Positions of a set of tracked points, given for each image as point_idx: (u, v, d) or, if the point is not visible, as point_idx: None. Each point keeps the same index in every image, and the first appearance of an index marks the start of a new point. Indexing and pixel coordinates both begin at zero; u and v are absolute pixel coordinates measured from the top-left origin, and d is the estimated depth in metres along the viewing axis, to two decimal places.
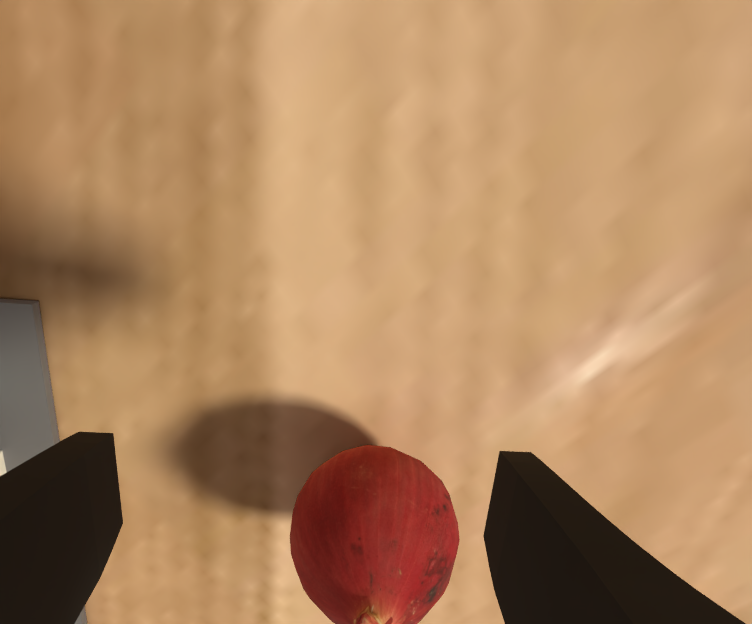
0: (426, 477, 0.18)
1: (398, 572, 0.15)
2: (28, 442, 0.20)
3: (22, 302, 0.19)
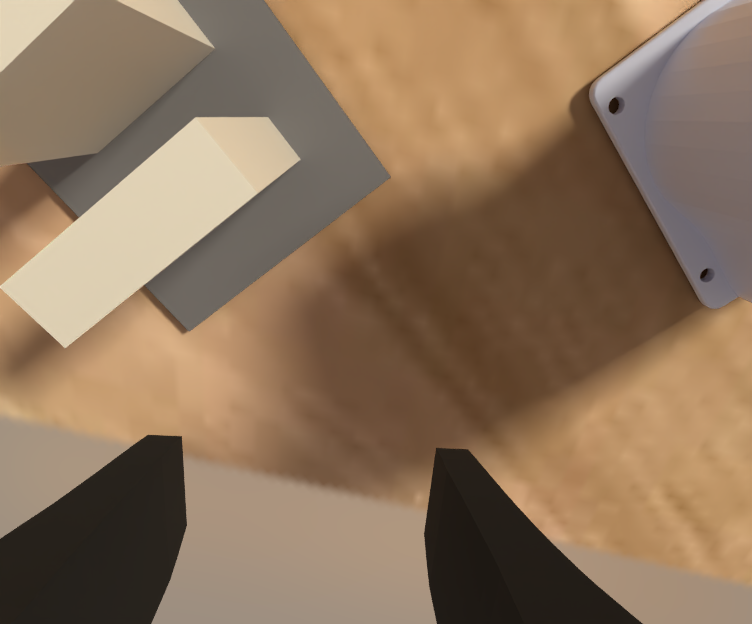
0: None
1: None
2: None
3: None
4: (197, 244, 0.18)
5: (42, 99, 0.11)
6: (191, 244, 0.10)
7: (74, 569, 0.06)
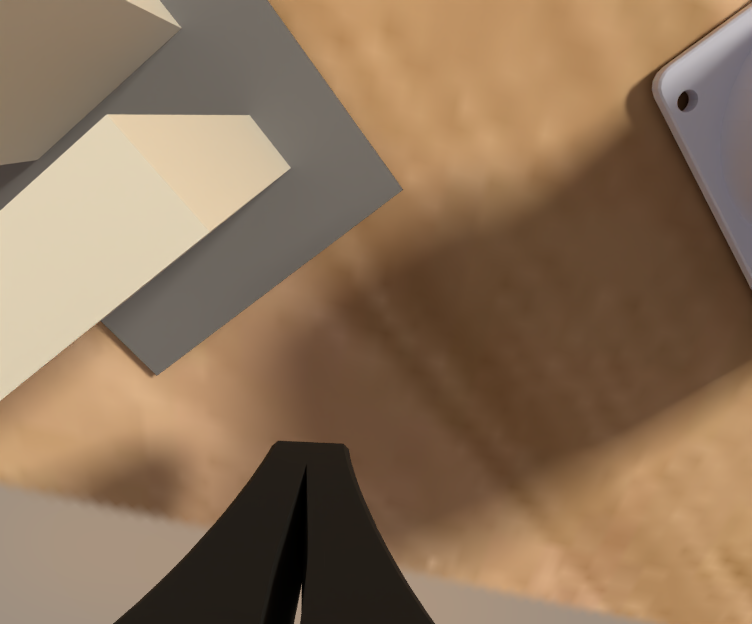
0: None
1: None
2: None
3: None
4: (164, 272, 0.14)
5: None
6: (110, 308, 0.06)
7: (274, 575, 0.06)
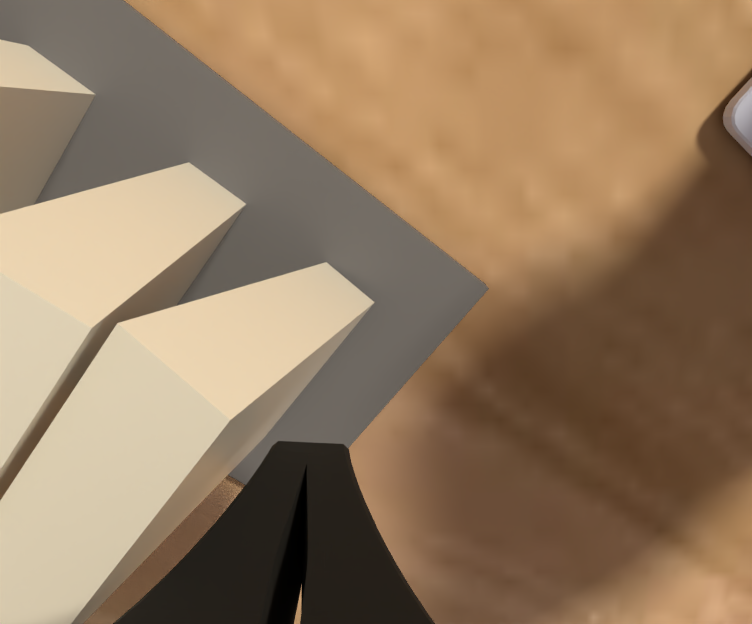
0: None
1: None
2: None
3: None
4: (278, 420, 0.15)
5: None
6: (151, 516, 0.06)
7: (274, 575, 0.06)
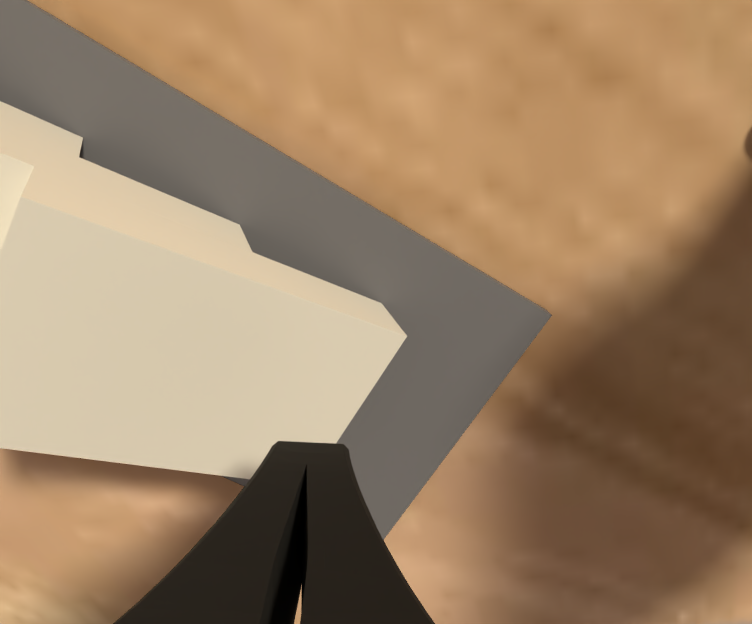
0: None
1: None
2: None
3: None
4: (359, 461, 0.15)
5: None
6: None
7: (274, 575, 0.06)
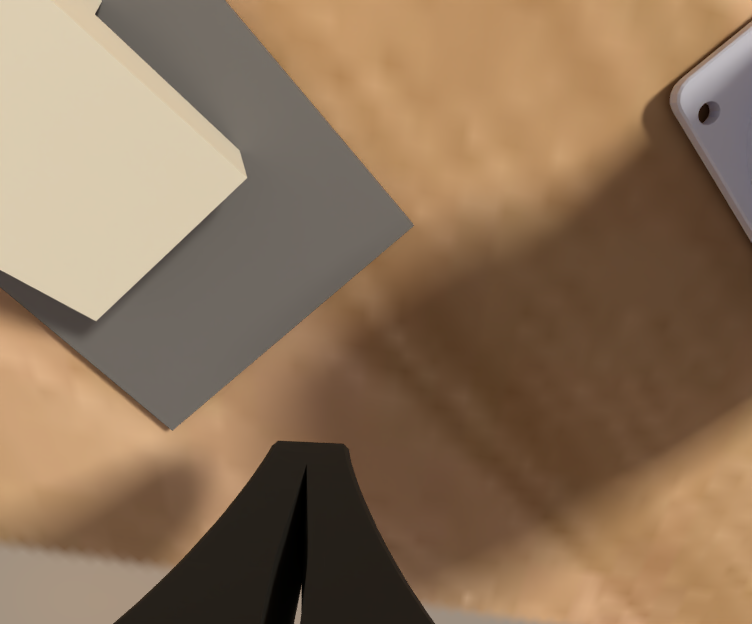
0: None
1: None
2: None
3: None
4: (172, 326, 0.14)
5: None
6: None
7: (274, 575, 0.06)
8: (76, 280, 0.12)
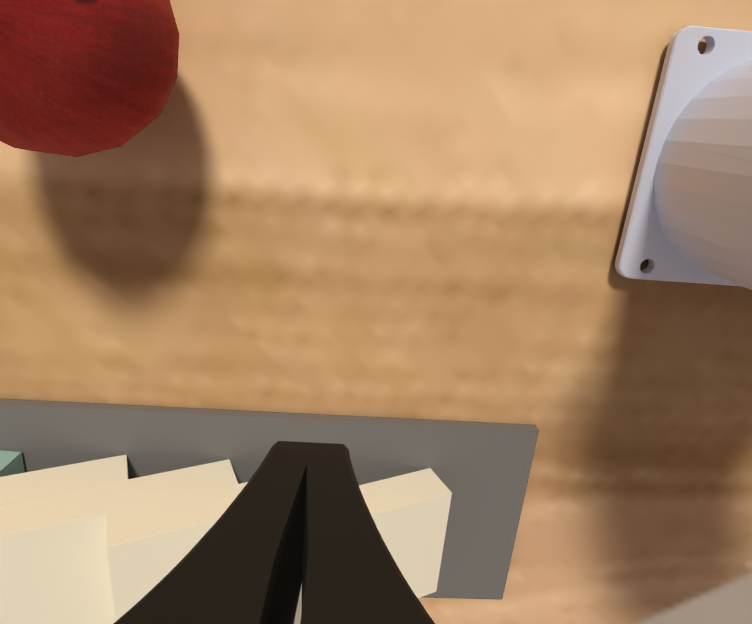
0: None
1: None
2: (122, 431, 0.20)
3: None
4: (463, 556, 0.23)
5: None
6: None
7: (274, 575, 0.06)
8: (417, 585, 0.21)
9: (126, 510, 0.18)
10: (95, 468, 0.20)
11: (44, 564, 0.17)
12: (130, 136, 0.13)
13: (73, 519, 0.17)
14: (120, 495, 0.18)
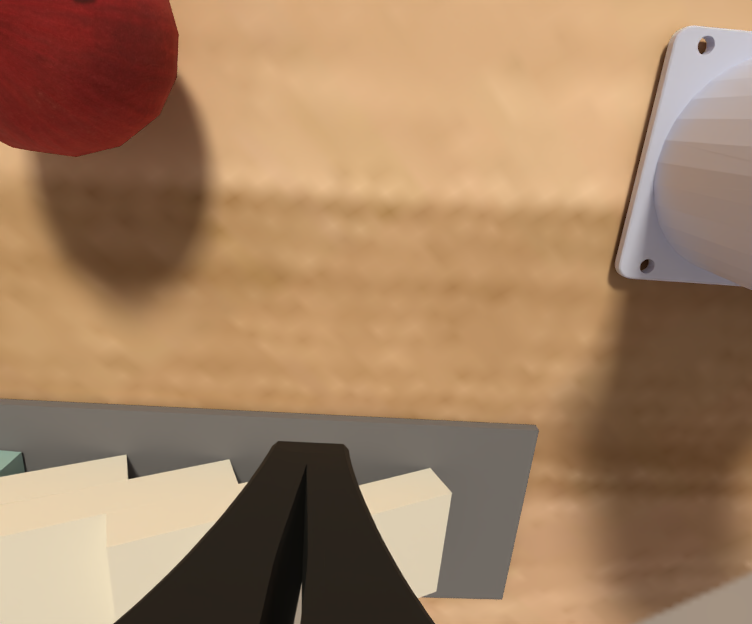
0: None
1: None
2: (122, 431, 0.20)
3: None
4: (463, 556, 0.23)
5: None
6: None
7: (274, 575, 0.06)
8: (418, 585, 0.21)
9: (126, 510, 0.18)
10: (95, 468, 0.20)
11: (44, 564, 0.17)
12: (129, 136, 0.13)
13: (73, 519, 0.17)
14: (120, 495, 0.18)
